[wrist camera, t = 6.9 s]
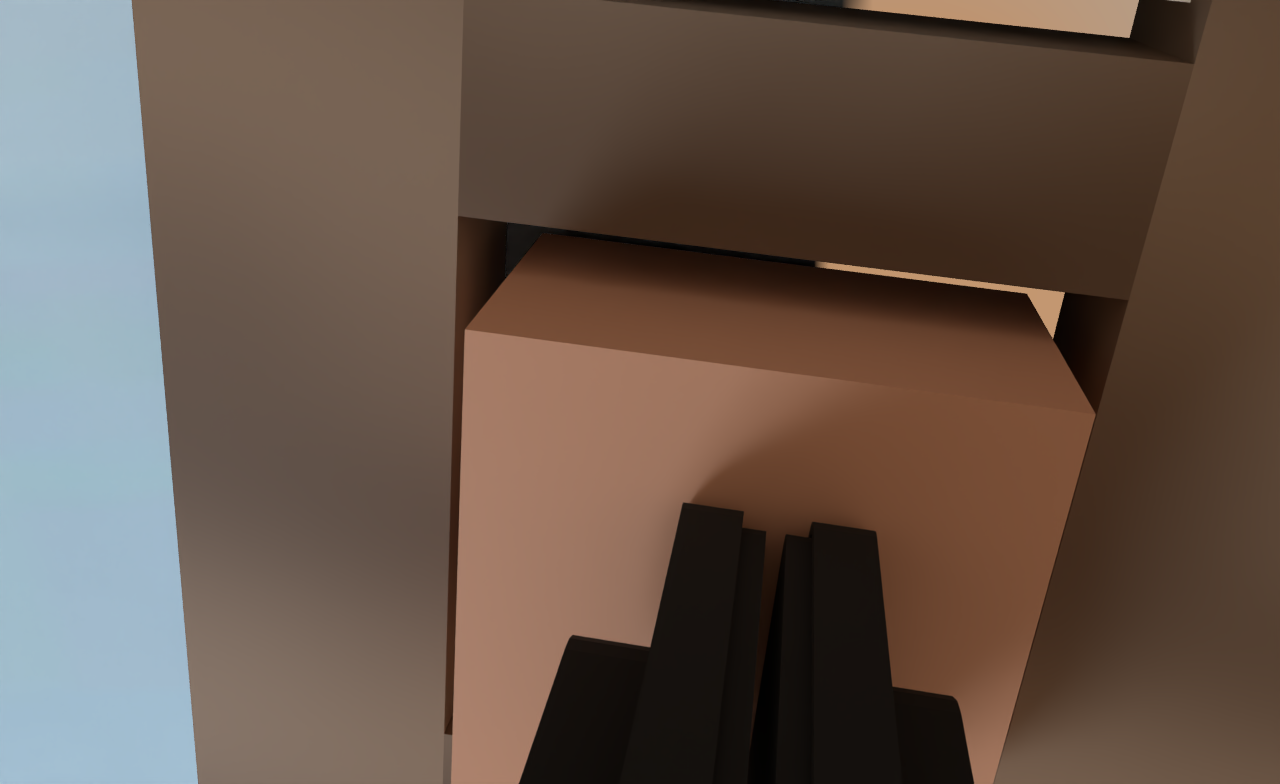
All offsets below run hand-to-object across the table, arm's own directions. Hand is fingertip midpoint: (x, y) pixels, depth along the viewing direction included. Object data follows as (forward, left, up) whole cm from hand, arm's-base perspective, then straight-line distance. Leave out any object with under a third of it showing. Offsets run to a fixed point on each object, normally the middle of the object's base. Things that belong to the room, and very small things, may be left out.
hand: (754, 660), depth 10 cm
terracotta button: (0, 0, -4) cm, 4 cm away
